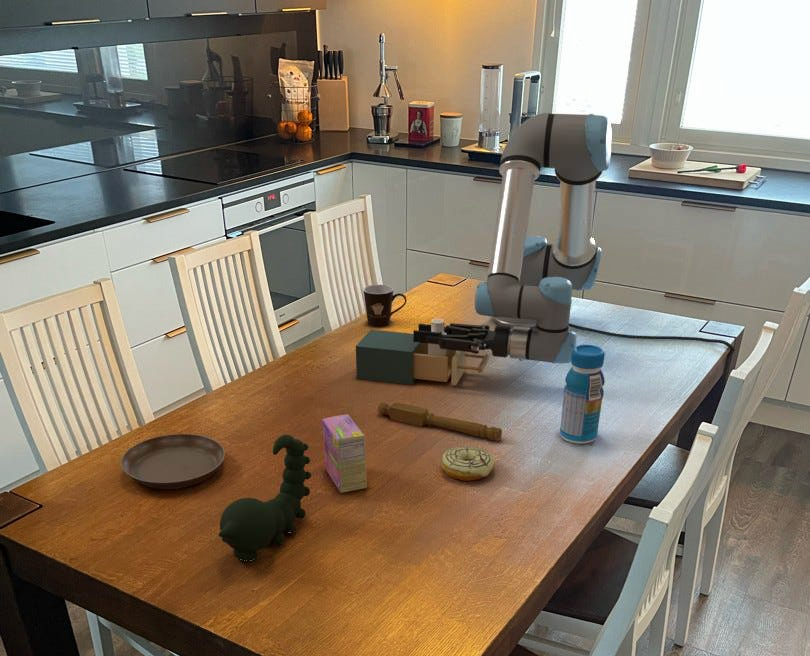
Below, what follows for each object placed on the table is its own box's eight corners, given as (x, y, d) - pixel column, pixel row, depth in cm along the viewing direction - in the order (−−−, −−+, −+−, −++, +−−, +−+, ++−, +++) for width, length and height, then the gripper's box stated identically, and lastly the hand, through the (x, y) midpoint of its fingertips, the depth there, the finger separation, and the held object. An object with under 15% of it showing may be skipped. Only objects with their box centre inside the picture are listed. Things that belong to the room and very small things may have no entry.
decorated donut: (495, 484, 171) (496, 468, 169) (441, 483, 171) (442, 467, 169) (492, 459, 179) (493, 443, 177) (441, 458, 180) (441, 442, 178)
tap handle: (497, 431, 184) (375, 404, 195) (496, 444, 185) (375, 416, 197) (502, 425, 186) (381, 399, 197) (502, 438, 188) (382, 411, 199)
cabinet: (425, 366, 221) (425, 334, 216) (412, 385, 212) (412, 351, 207) (371, 360, 225) (370, 329, 220) (356, 378, 215) (355, 345, 210)
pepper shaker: (446, 355, 214) (447, 318, 208) (443, 361, 210) (443, 324, 205) (431, 354, 215) (431, 317, 209) (427, 360, 211) (427, 322, 206)
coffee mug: (358, 325, 247) (357, 291, 241) (373, 316, 253) (372, 282, 248) (394, 332, 242) (393, 297, 237) (408, 322, 249) (408, 288, 243)
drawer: (489, 371, 216) (491, 345, 213) (480, 388, 208) (482, 361, 204) (414, 363, 221) (414, 338, 217) (403, 379, 212) (402, 353, 208)
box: (324, 470, 176) (321, 417, 169) (351, 465, 178) (349, 413, 171) (339, 494, 168) (337, 440, 161) (367, 489, 169) (365, 435, 163)
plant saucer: (246, 461, 179) (245, 447, 177) (178, 506, 164) (175, 491, 162) (173, 438, 188) (171, 425, 186) (101, 479, 173) (98, 464, 171)
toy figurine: (282, 512, 165) (200, 571, 145) (278, 420, 156) (190, 469, 136) (323, 524, 162) (245, 585, 142) (322, 431, 152) (239, 482, 133)
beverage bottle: (557, 442, 186) (566, 355, 175) (560, 426, 192) (569, 340, 181) (596, 447, 184) (608, 359, 173) (598, 429, 191) (610, 344, 180)
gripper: (502, 370, 200) (406, 359, 206) (515, 344, 214) (425, 335, 219) (504, 339, 196) (406, 329, 201) (517, 315, 210) (425, 306, 215)
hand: (416, 332), depth 210 cm, fingers closed on pepper shaker, 4 cm apart
